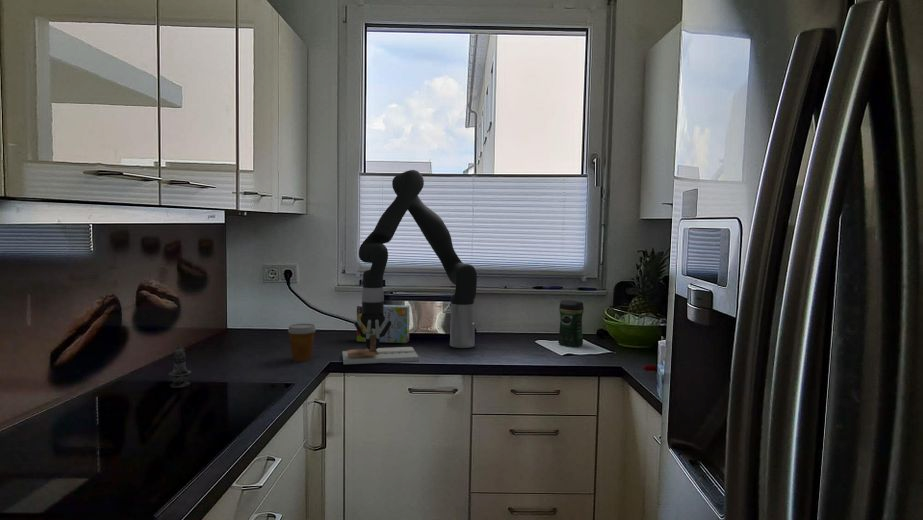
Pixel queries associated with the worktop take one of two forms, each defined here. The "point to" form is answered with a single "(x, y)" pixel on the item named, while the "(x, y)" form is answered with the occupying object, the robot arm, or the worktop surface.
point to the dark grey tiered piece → (179, 369)
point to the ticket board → (383, 356)
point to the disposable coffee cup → (301, 341)
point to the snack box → (398, 326)
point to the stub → (366, 351)
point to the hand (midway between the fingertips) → (372, 348)
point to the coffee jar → (571, 323)
